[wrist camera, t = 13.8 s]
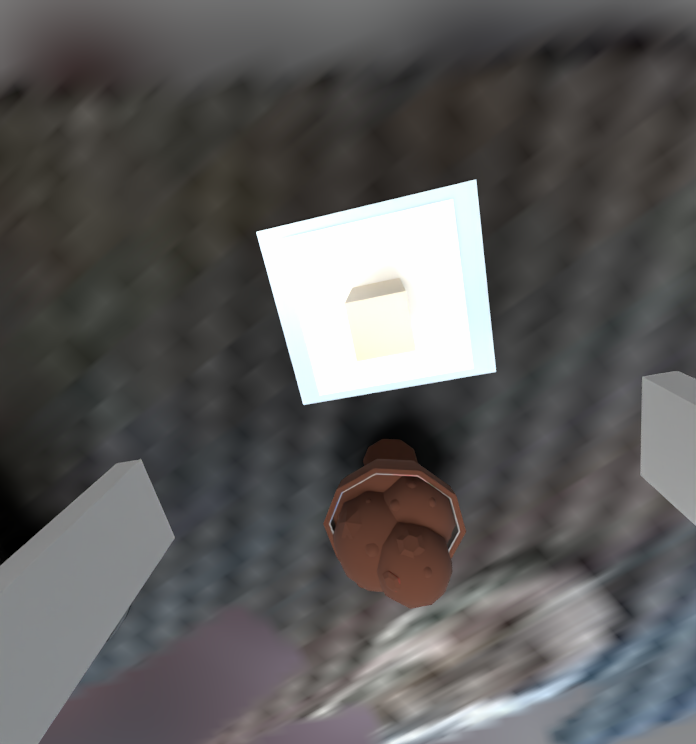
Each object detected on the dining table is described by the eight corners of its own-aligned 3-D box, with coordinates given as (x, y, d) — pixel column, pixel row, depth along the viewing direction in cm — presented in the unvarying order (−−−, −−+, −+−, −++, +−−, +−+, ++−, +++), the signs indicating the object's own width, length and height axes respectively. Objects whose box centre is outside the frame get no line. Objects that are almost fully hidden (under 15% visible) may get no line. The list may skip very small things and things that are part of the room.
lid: (320, 392, 37) (304, 437, 29) (281, 239, 33) (249, 241, 25) (471, 365, 35) (500, 405, 27) (451, 199, 31) (477, 187, 23)
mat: (304, 402, 38) (303, 405, 38) (258, 231, 34) (256, 231, 33) (494, 369, 36) (496, 371, 35) (474, 180, 31) (476, 179, 30)
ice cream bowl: (428, 400, 37) (459, 501, 23) (454, 496, 41) (495, 635, 27) (323, 427, 39) (292, 536, 25) (356, 517, 42) (345, 658, 28)
